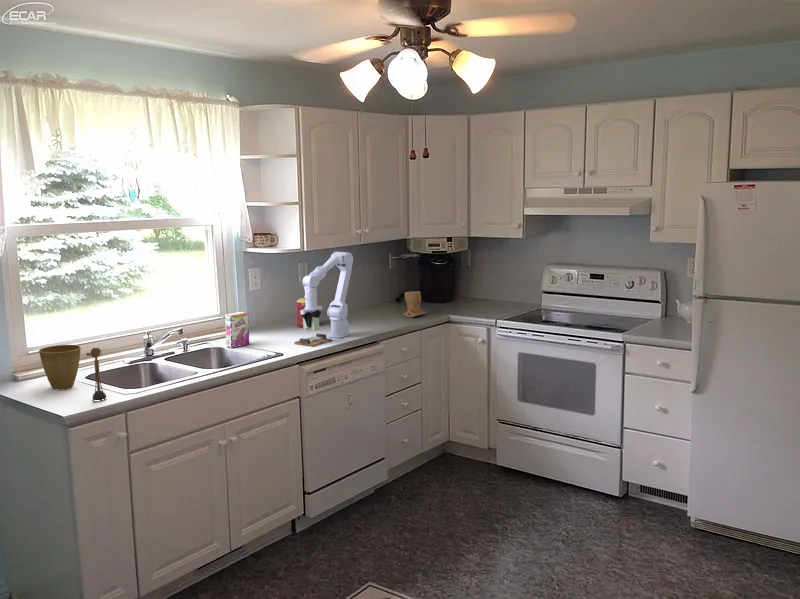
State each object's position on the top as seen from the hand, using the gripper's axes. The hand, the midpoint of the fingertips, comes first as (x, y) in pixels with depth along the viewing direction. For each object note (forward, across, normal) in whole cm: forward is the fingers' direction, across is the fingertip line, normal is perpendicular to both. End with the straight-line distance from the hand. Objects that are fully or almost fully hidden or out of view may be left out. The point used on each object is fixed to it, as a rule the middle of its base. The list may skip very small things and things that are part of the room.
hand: (312, 326), depth 357 cm
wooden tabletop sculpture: (+8, +116, -8) cm, 116 cm away
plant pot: (+9, +112, -35) cm, 118 cm away
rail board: (+8, 0, 0) cm, 8 cm away
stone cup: (+9, -88, +6) cm, 88 cm away
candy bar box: (+9, +24, -28) cm, 38 cm away
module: (+2, 0, 0) cm, 2 cm away
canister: (+9, -34, -31) cm, 46 cm away
